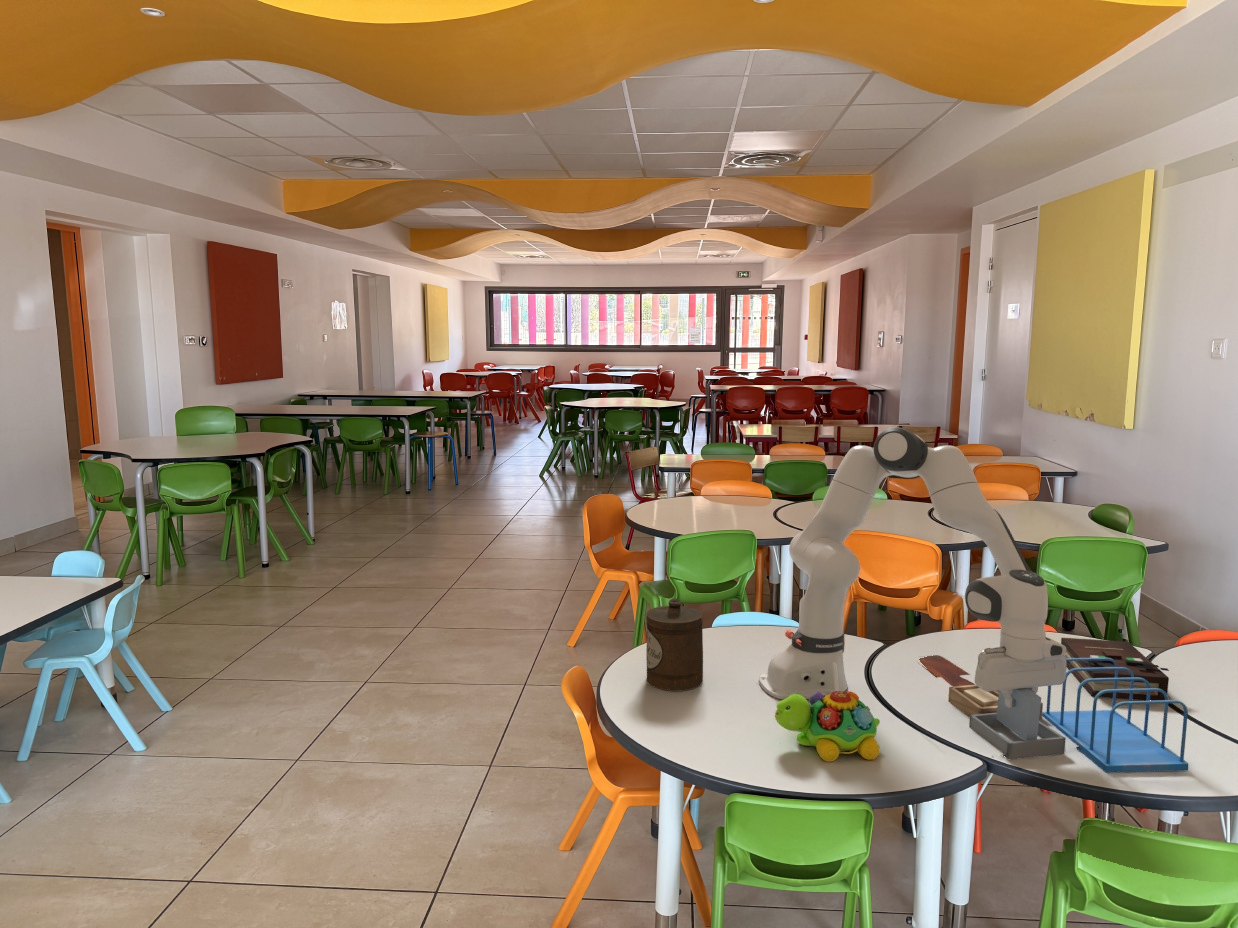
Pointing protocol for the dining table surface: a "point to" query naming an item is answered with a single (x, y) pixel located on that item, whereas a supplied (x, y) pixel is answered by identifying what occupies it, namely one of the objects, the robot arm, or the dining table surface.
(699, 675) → the wooden container
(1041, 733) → the tray
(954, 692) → the divided wooden box
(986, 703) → the offcut slab upper
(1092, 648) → the decorative book
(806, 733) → the turtle toy
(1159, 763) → the file sorter
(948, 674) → the wooden tablet
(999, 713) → the grey square block
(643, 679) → the dining table surface
